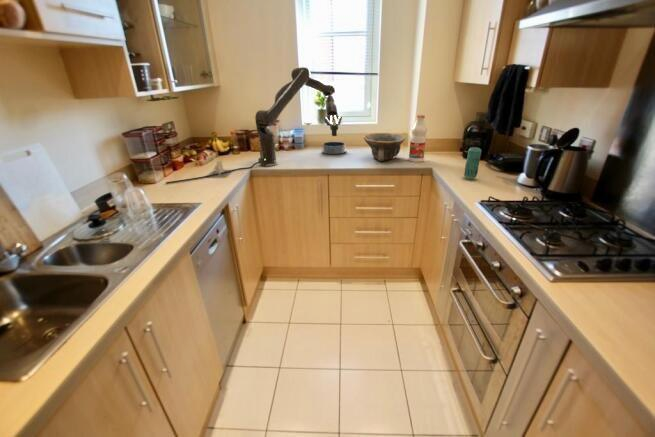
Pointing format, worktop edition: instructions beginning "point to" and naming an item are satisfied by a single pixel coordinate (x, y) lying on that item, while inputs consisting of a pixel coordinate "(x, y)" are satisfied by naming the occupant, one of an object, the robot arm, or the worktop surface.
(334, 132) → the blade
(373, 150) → the bowl
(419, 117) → the fruit juice
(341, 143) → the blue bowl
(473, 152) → the beverage bottle
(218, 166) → the architectural model
